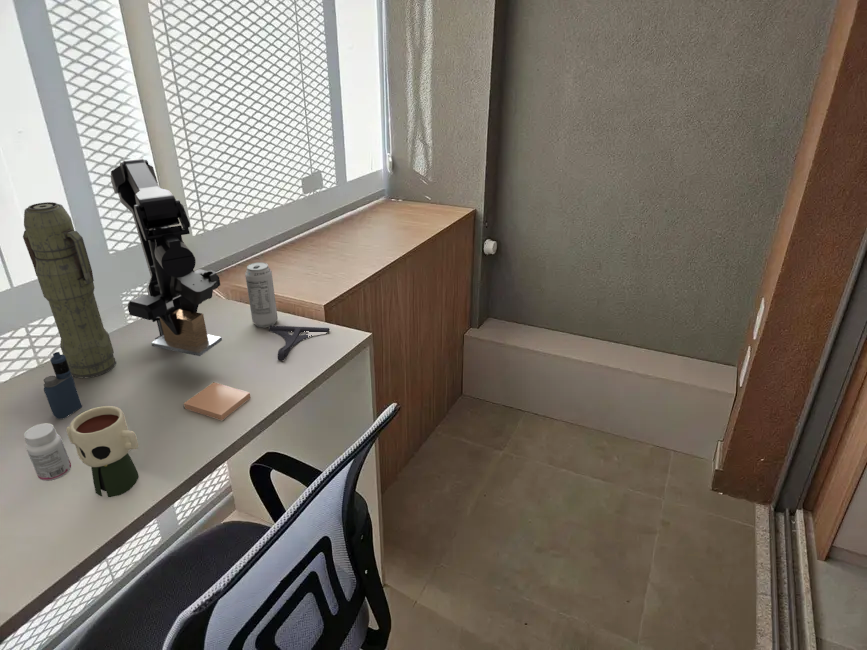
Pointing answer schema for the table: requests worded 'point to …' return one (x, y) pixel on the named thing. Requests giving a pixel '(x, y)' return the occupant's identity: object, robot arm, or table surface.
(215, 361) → the table surface
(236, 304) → the table surface
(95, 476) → the character mug
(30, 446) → the pill bottle
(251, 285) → the energy drink can
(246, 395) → the tile
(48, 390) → the vaping device
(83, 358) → the thermos
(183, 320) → the block on grey plate
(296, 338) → the bracket
